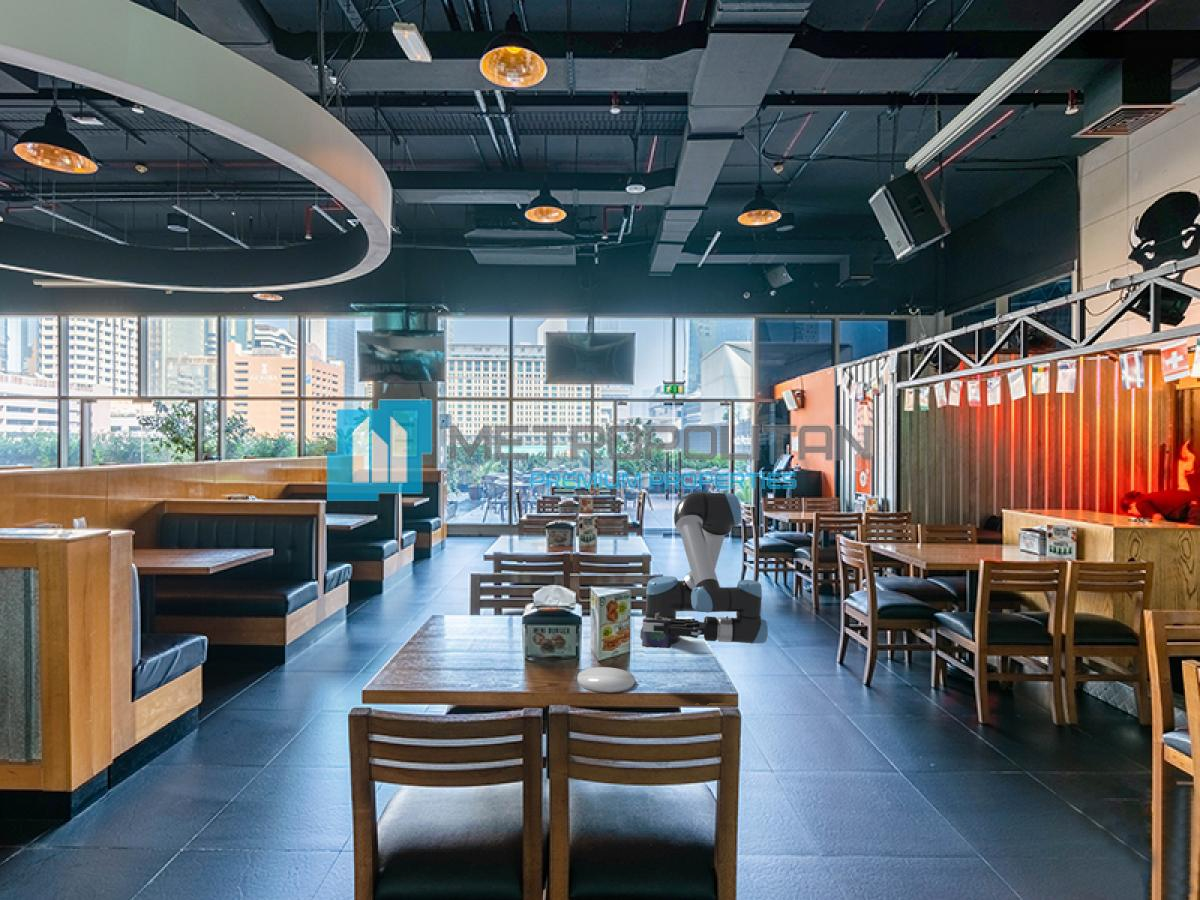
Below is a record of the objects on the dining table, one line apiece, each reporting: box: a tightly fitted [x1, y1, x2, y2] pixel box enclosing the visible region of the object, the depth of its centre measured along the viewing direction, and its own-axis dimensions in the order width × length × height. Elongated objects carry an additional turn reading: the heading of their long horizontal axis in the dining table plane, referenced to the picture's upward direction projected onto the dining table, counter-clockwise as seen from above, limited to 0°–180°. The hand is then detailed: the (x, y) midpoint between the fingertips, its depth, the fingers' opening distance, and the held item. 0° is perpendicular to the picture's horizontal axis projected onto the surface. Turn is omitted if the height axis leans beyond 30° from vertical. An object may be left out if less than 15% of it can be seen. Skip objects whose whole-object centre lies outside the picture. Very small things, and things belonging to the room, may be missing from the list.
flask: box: [641, 613, 672, 649], centre depth 220 cm, size 9×3×11 cm, turn 87°
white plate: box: [577, 666, 635, 693], centre depth 219 cm, size 18×18×2 cm
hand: (642, 625), depth 220 cm, fingers closed on flask, 3 cm apart
